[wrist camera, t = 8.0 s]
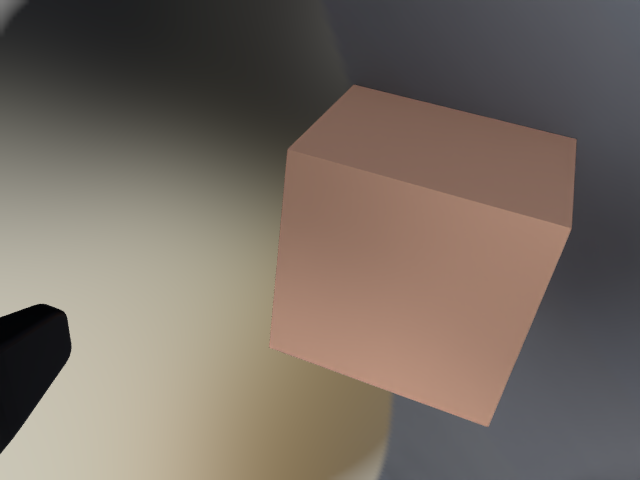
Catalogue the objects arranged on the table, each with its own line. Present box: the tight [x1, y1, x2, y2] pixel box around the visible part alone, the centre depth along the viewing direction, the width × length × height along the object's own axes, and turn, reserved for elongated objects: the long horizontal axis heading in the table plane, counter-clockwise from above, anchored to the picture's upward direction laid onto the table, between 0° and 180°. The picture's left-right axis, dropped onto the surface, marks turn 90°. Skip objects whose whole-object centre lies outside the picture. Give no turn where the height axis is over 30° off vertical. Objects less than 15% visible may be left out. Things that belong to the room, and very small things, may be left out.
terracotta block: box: [269, 85, 577, 427], centre depth 13 cm, size 5×5×4 cm
